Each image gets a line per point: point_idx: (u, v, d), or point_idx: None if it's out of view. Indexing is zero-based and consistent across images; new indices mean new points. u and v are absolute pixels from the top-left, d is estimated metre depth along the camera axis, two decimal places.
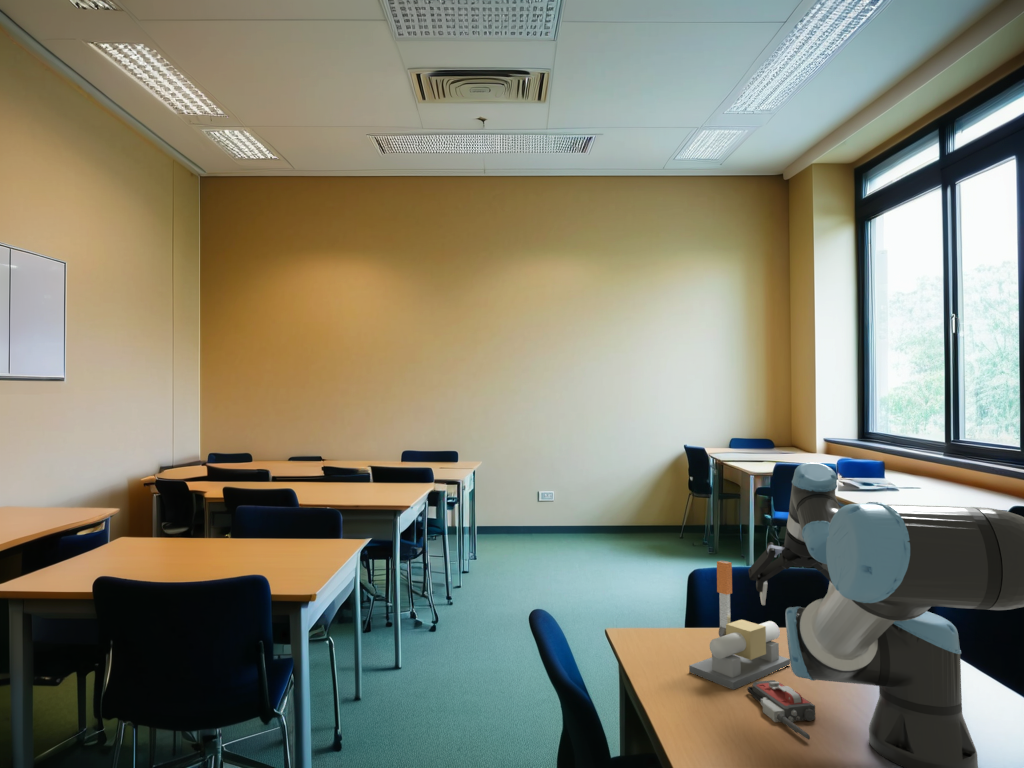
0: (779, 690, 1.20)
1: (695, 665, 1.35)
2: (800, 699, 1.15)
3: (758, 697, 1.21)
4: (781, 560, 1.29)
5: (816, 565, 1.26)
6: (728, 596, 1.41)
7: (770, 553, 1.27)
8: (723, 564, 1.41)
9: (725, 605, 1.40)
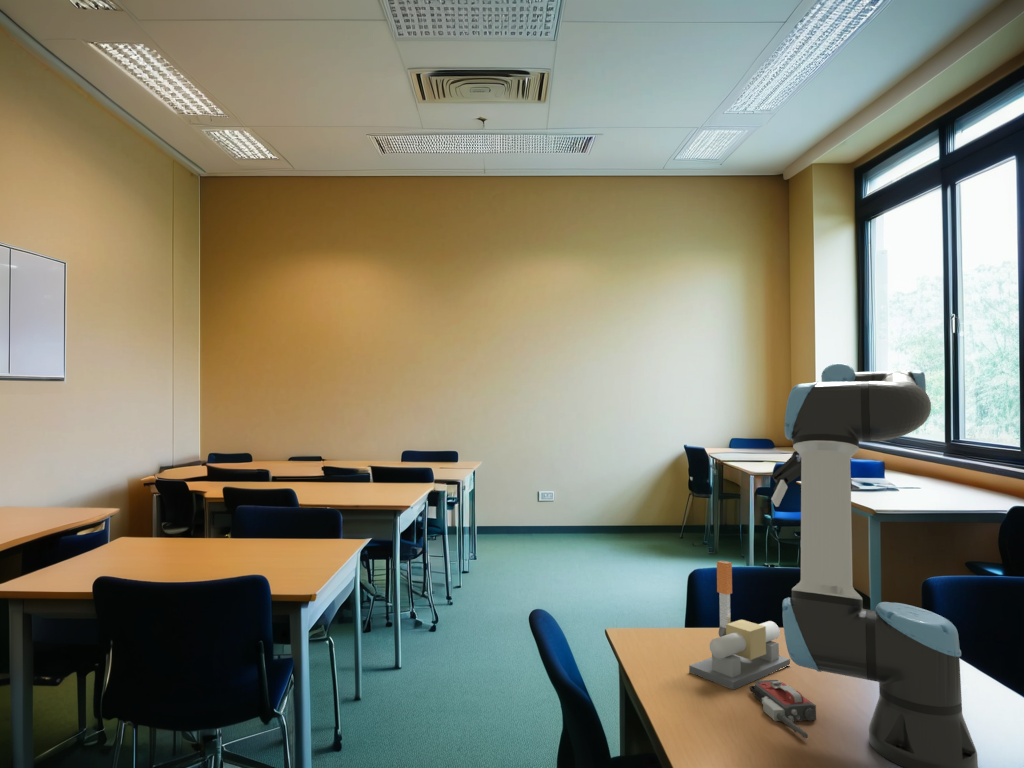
0: (781, 689, 1.20)
1: (695, 665, 1.35)
2: (801, 699, 1.15)
3: (760, 696, 1.21)
4: None
5: None
6: (728, 596, 1.41)
7: (793, 453, 1.59)
8: (723, 564, 1.41)
9: (725, 605, 1.40)
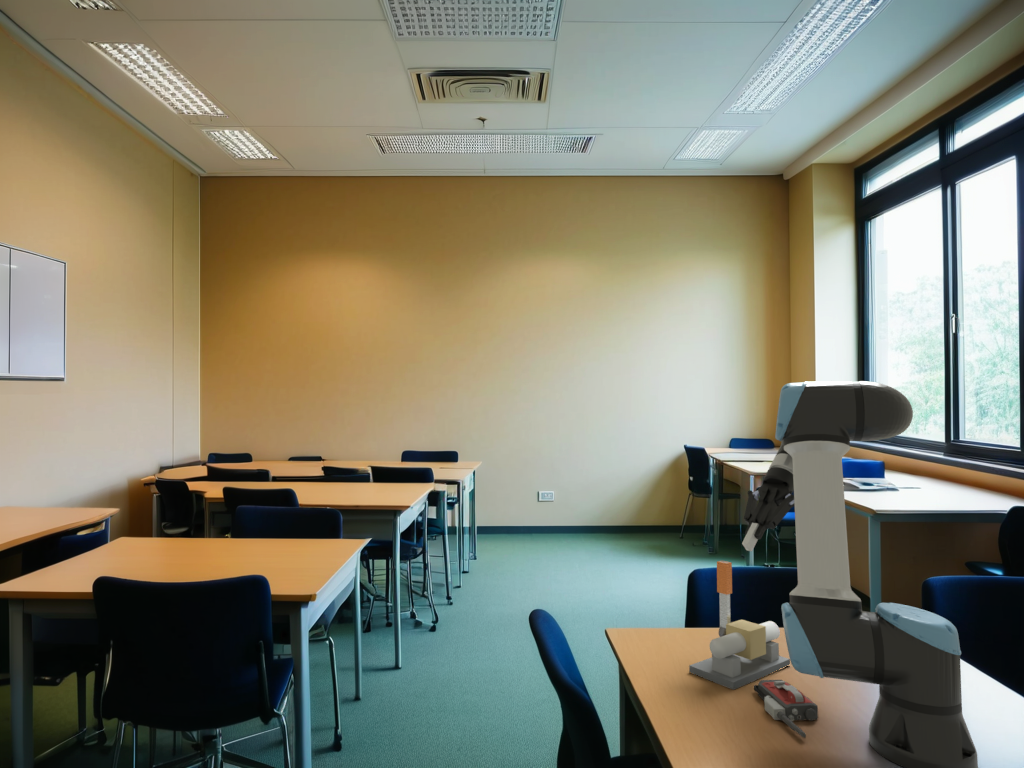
0: (784, 689, 1.20)
1: (695, 665, 1.35)
2: (802, 698, 1.15)
3: (762, 695, 1.21)
4: None
5: (772, 495, 1.54)
6: (728, 596, 1.41)
7: (748, 493, 1.60)
8: (723, 564, 1.41)
9: (725, 605, 1.40)
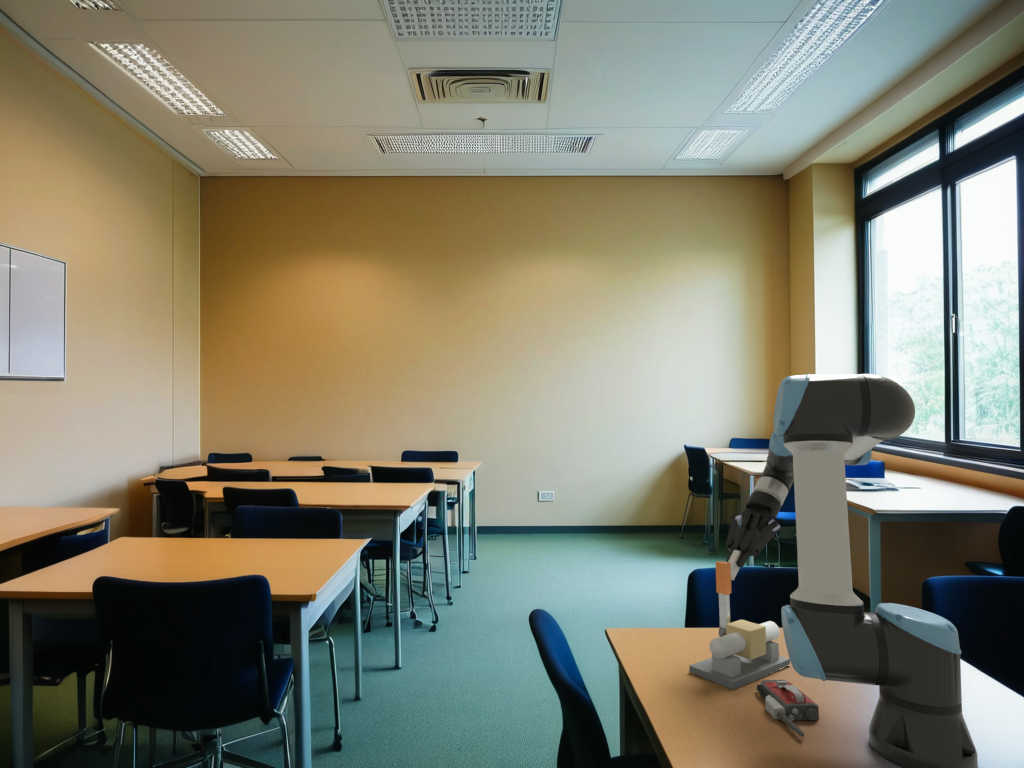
0: (785, 689, 1.20)
1: (695, 665, 1.35)
2: (803, 698, 1.15)
3: (764, 695, 1.22)
4: None
5: (755, 520, 1.48)
6: (727, 596, 1.40)
7: (731, 517, 1.54)
8: (722, 564, 1.41)
9: (725, 606, 1.40)
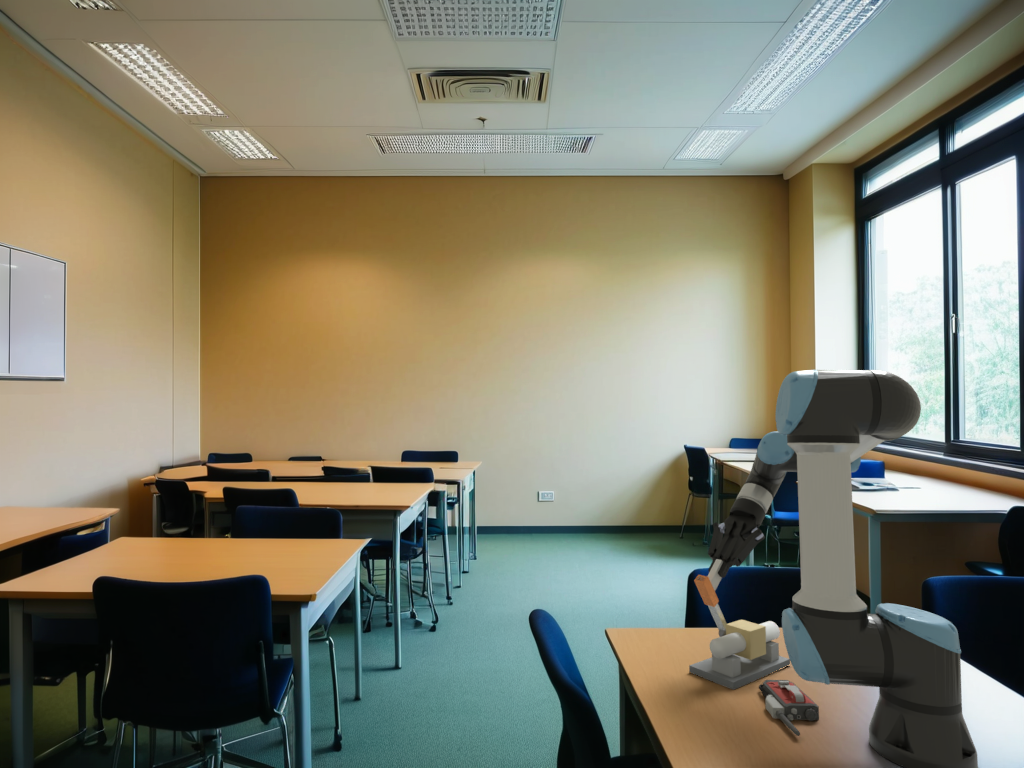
0: (787, 689, 1.20)
1: (695, 665, 1.35)
2: (803, 699, 1.15)
3: (766, 694, 1.22)
4: None
5: (738, 529, 1.44)
6: (716, 605, 1.38)
7: (714, 525, 1.50)
8: (701, 583, 1.36)
9: (717, 614, 1.38)
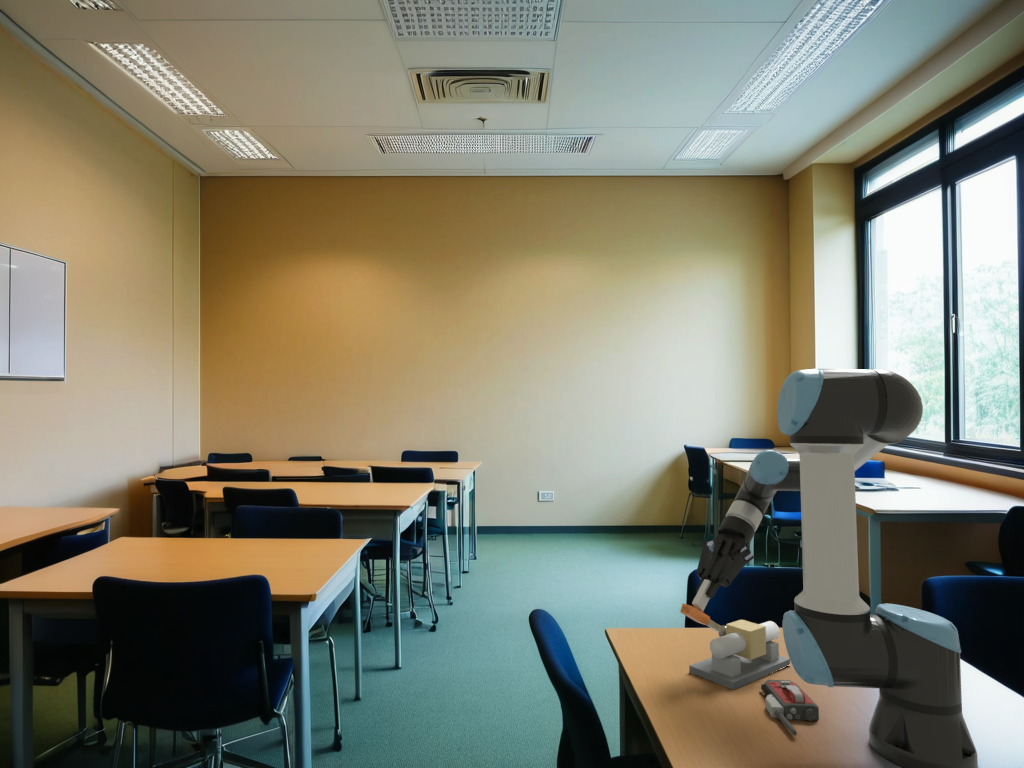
0: (788, 689, 1.20)
1: (695, 665, 1.35)
2: (803, 699, 1.15)
3: (767, 694, 1.22)
4: None
5: (727, 548, 1.41)
6: (709, 621, 1.36)
7: (703, 543, 1.47)
8: (687, 614, 1.32)
9: (712, 627, 1.37)
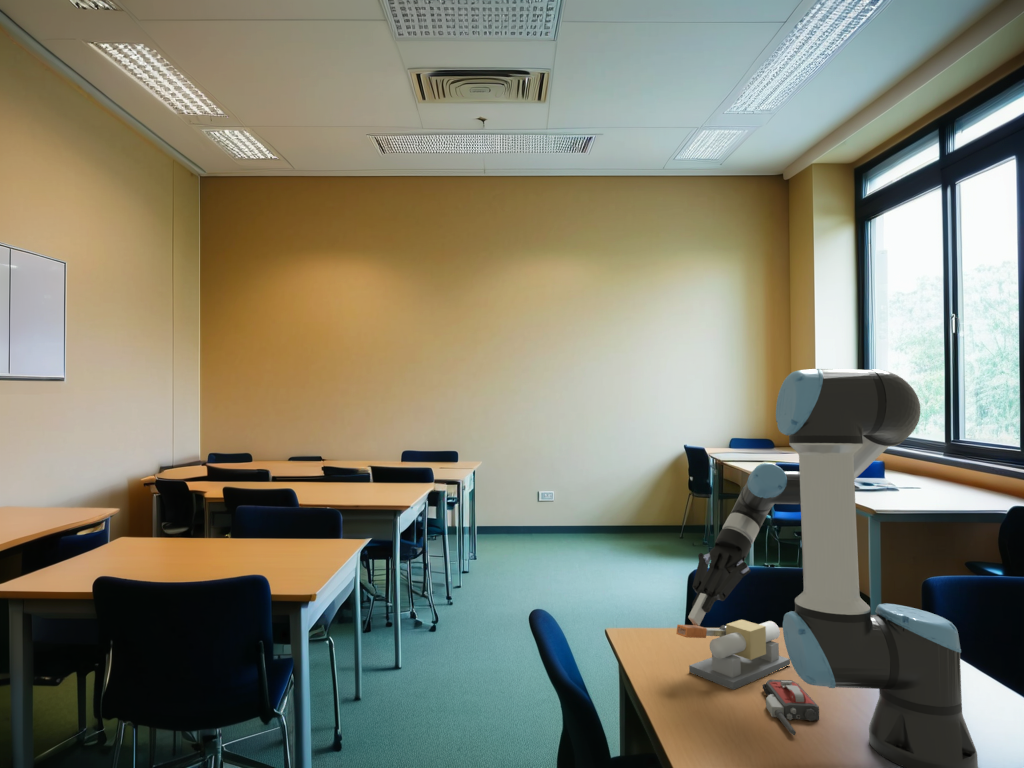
0: (789, 689, 1.21)
1: (695, 665, 1.35)
2: (803, 699, 1.15)
3: (768, 694, 1.22)
4: None
5: (724, 561, 1.40)
6: (707, 633, 1.35)
7: (699, 556, 1.46)
8: None
9: (711, 635, 1.37)
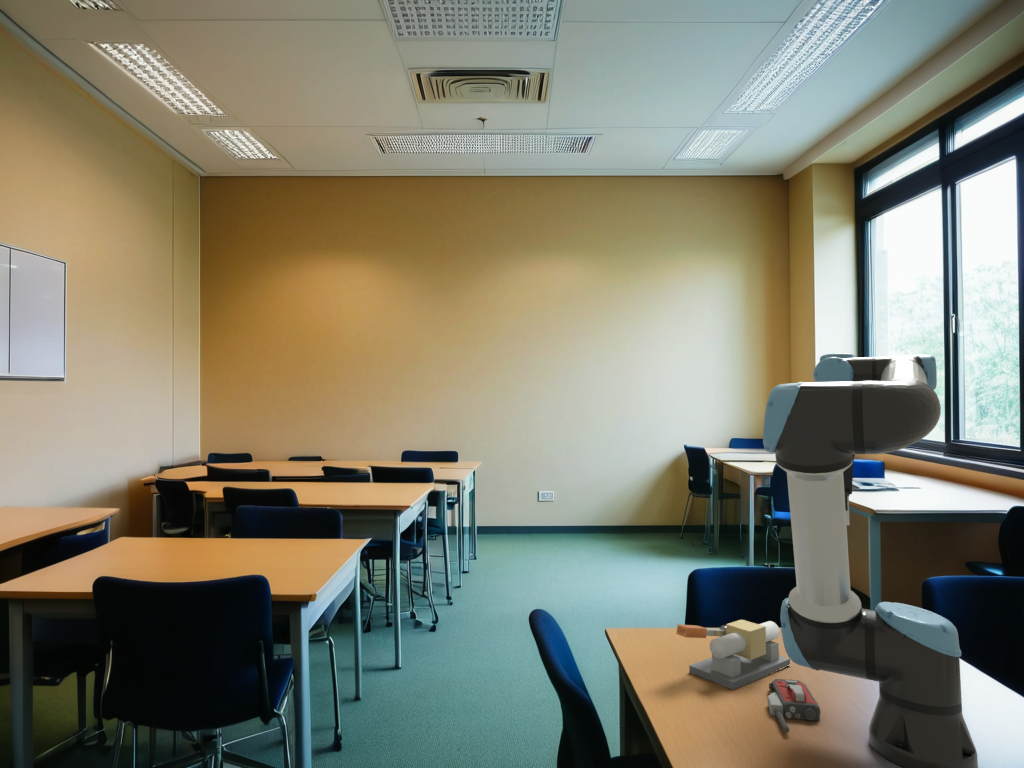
0: None
1: (695, 665, 1.35)
2: (803, 698, 1.15)
3: (772, 692, 1.23)
4: None
5: None
6: (707, 633, 1.35)
7: None
8: None
9: (711, 635, 1.37)
